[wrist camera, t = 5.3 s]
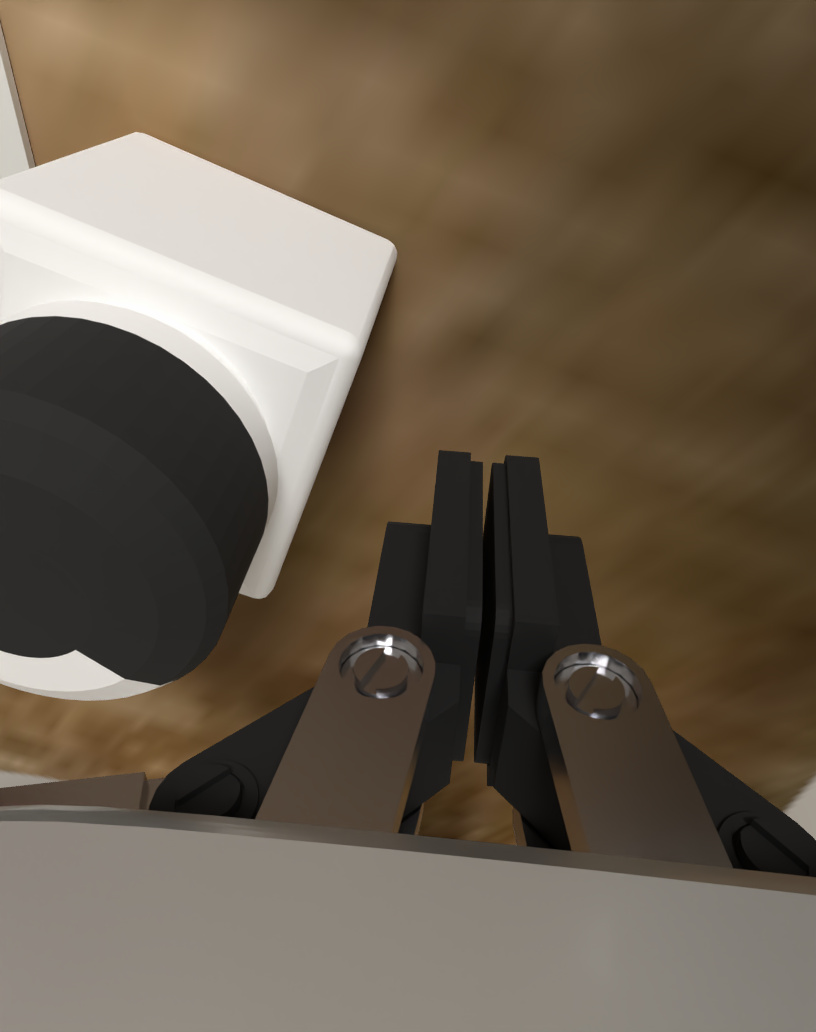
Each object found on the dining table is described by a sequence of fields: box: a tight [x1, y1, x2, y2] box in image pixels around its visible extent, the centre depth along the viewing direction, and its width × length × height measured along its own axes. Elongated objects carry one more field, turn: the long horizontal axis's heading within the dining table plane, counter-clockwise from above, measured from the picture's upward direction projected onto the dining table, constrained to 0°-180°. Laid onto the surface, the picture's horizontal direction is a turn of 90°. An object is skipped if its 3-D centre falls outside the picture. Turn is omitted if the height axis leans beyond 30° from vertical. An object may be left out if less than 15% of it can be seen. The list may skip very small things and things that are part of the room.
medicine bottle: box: [0, 132, 397, 701], centre depth 15 cm, size 7×7×12 cm
